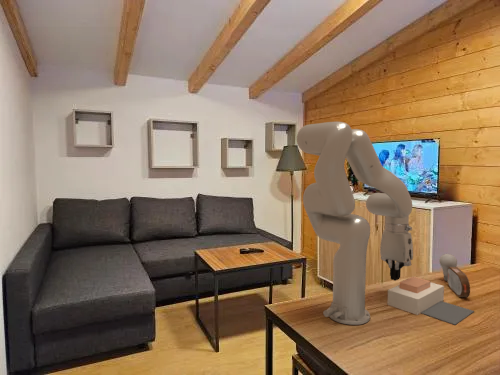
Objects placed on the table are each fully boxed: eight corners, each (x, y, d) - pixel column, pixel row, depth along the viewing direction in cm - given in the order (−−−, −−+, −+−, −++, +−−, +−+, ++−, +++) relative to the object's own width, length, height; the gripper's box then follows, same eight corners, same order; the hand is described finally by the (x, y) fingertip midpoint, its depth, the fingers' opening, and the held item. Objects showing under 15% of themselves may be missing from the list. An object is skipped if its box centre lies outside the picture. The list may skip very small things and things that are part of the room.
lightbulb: (439, 277, 141) (440, 251, 140) (457, 280, 137) (458, 253, 136) (437, 282, 136) (438, 254, 135) (455, 285, 132) (456, 257, 131)
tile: (417, 293, 112) (417, 287, 112) (399, 288, 116) (399, 282, 116) (430, 286, 117) (430, 281, 117) (412, 282, 122) (413, 276, 122)
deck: (417, 315, 107) (418, 299, 107) (387, 304, 115) (387, 289, 115) (443, 300, 118) (444, 285, 118) (414, 291, 126) (414, 278, 126)
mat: (455, 325, 101) (455, 324, 101) (420, 313, 109) (420, 312, 109) (474, 311, 109) (474, 311, 109) (440, 301, 117) (440, 300, 117)
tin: (470, 301, 118) (471, 277, 117) (460, 300, 118) (461, 276, 118) (454, 285, 132) (455, 263, 132) (445, 285, 133) (445, 263, 132)
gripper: (423, 229, 117) (421, 282, 119) (382, 223, 129) (381, 271, 131) (412, 232, 113) (410, 287, 114) (371, 226, 124) (370, 276, 126)
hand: (395, 279), depth 122 cm, fingers closed
